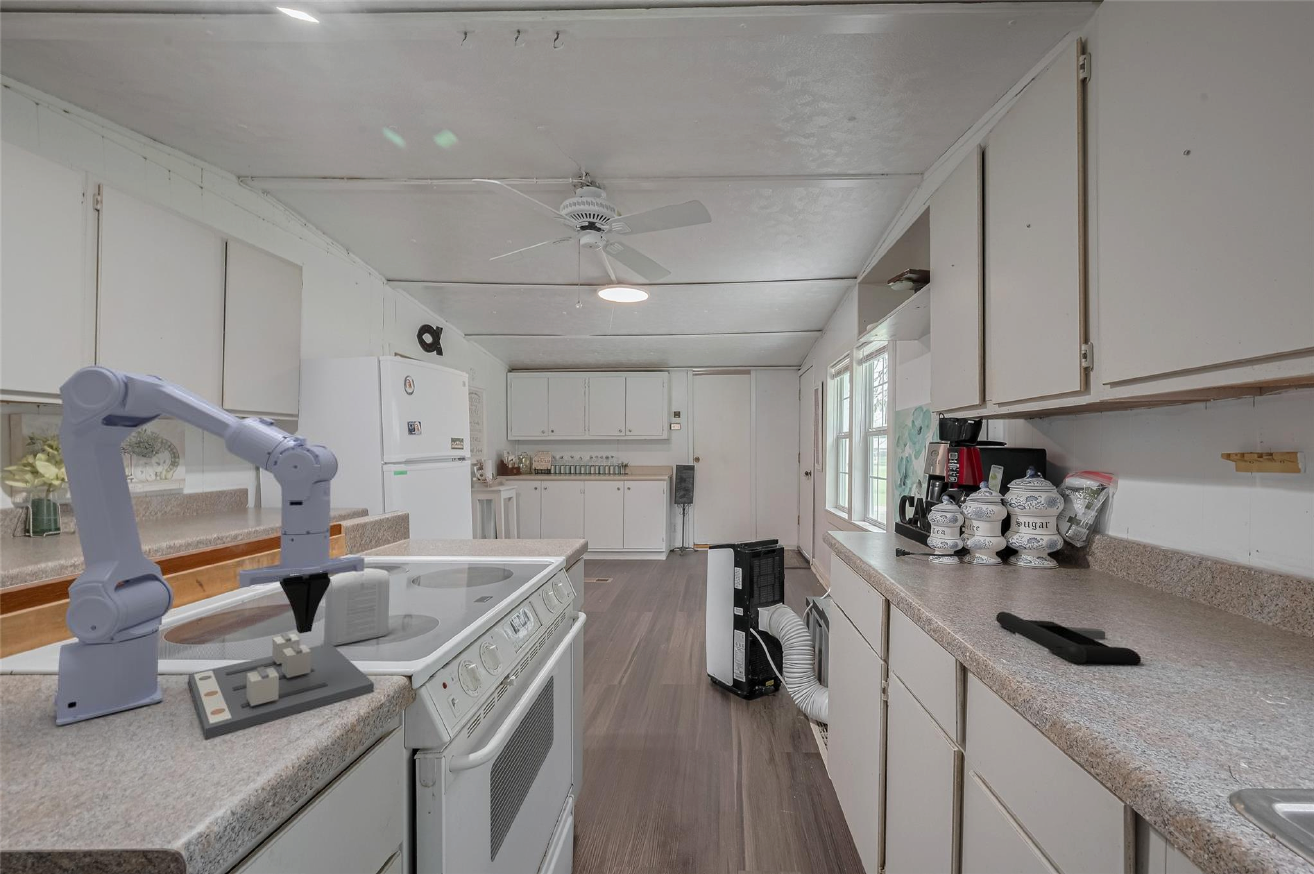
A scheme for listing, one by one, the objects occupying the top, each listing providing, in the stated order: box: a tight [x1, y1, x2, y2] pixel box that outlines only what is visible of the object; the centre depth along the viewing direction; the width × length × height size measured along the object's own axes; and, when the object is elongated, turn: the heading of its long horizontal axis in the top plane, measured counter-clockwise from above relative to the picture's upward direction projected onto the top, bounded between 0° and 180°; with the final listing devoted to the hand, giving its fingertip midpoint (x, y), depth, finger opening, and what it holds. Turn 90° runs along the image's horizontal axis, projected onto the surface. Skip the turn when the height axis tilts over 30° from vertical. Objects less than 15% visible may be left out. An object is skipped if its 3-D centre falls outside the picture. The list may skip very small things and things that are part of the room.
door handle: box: [995, 611, 1142, 666], centre depth 94 cm, size 3×20×16 cm
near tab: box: [246, 667, 279, 706], centre depth 70 cm, size 3×4×3 cm
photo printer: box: [323, 567, 390, 647], centre depth 97 cm, size 10×4×12 cm, turn 134°
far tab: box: [271, 632, 301, 664], centre depth 83 cm, size 3×4×3 cm
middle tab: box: [282, 644, 311, 678], centre depth 78 cm, size 3×4×3 cm
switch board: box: [188, 644, 375, 740], centre depth 77 cm, size 18×22×1 cm
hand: (304, 630), depth 75 cm, fingers closed
